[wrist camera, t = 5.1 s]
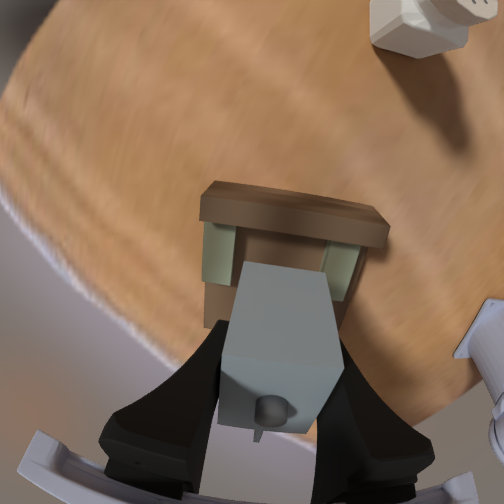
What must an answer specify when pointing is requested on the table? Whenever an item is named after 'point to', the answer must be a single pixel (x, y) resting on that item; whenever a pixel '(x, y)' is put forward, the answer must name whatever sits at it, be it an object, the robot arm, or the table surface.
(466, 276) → the table surface
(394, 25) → the pepper shaker
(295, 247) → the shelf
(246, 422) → the grey knobbed box
